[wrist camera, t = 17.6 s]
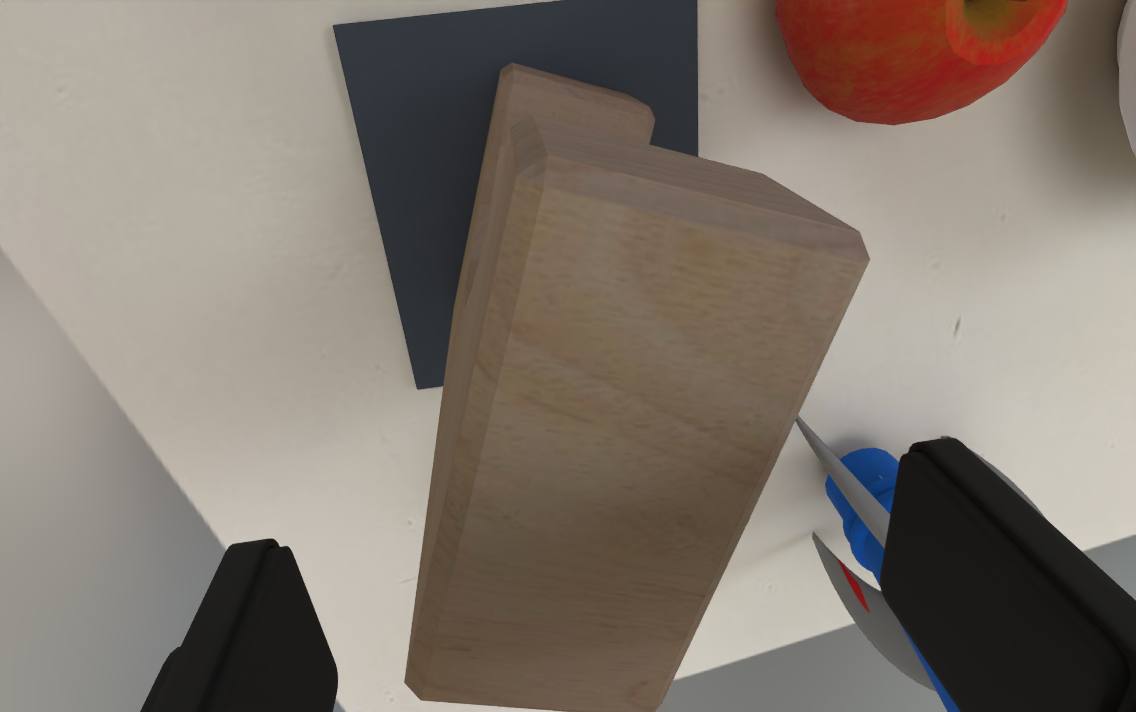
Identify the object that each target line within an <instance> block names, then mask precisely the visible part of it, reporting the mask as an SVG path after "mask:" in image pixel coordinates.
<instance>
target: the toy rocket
mask: <svg viewBox="0 0 1136 712" xmlns="http://www.w3.org/2000/svg"><path fill="white" fill-rule="evenodd" d="M795 421H796V423H797V425H798V426H799V428H800V430H801V431H802V433H803V435H804V436H805V438H806V440H807V441H808V443H809V445H810V446H811V448H812V449H813V451H814V452H815V454H816V456H817V457H818V459H819V460H820V462H821V463H822V465H823V466H824V467H825V469H826V470H827V472H828V476H827V480H826V483H825V486H826V492H827V495H828V497H829V498H830V500H831V502H832V503H833V505H834V506H835V508H836V509H837V511H838V513H839V514H840V516H841V517H842V519H843V529H844V534H845V536H846V538H847V540H848V541H849V543H850V546H851V550H852V553H853V555H854V556H855V558H856V560H857V561H858V562H859V563H860V564H861V565H862V566H863V567H864V568H866V569H867V570H869V571H872V572H873V574H874V576H875V578H876V580H877V582H878V583H879V585H880V573H881V567H882V561H883V555H884V550H885V544H886V538H887V532H888V526H889V520H890V514H891V508H892V502H893V496H894V491H895V485H896V479H897V473H898V467H899V462H898V461H897V460H896V459H895V458H894V457H893V456H892V455H890V454H889V453H888V452H886V451H885V450H881V449H877V448H866V449H860V450H857V451H854V452H851V453H849V454H848V455H846V456H844V457H843V458H841V459H840V460H839V459H838V458H837V457H836V456H835V455H834V454H833V453H832V451H831V450H830V449H829V448H828V447H827V446H826V445H825V444H824V443H823V442H822V440H821V439H820V438H819V437H818V436H817V435H816V434H815V433H814V432H813V431H812V430H811V429H810V428H809V426H808V425H807V424H806V423H805V422H804V421H803V420H802V419H801V418H800V417H799V416H798V415H797V418H796V420H795ZM941 438H942V439H943V438H949V436H943V437H941ZM969 450H970V449H969ZM970 451H971V450H970ZM972 452H973V451H972ZM973 453H974V454H975V455H976V456H977V457H978V458H979V459H980V460H981V461H983V462H984V463H985V464H986V465H987V466H988V467H989V468H990V469H991V470H992V471H994V472H995V473H996V474H997V475H998V476H999V477H1000V478H1001V479H1002V480H1003V481H1005V482H1006V483H1007V484H1008V485H1009V486H1010V487H1011V488H1012V489H1013V490H1014V491H1016V492H1017V493H1018V494H1019V495H1020V496H1021V497H1022V498H1023V499H1024V500H1025V501H1027V502H1028V503H1029V504H1030V505H1031V506H1032V507H1033V508H1034V509H1035V510H1036V511H1038V512H1039V513H1040V514H1041V515H1042V516H1043V514H1042V513H1041V512H1040V511H1039V509H1038V508H1037V507H1036V505H1035V504H1034V503H1033V502H1032V501H1031V500H1030V499H1029V498H1028V497H1027V496H1026V495H1025V494H1024V493H1023V492H1022V491H1021V490H1020V489H1019V488H1018V487H1017V486H1016V485H1015V484H1014V483H1013V482H1012V481H1011V480H1010V479H1009V478H1008V477H1006V476H1005V475H1004V474H1003V473H1002V472H1000V471H999V470H998V469H997V468H995V467H994V466H993V465H992V464H990V463H989V462H987V461H986V460H985V459H983V458H982V457H980V456H979V455H978V454H976V453H975V452H973ZM1043 517H1044V516H1043ZM1044 518H1045V517H1044ZM1045 519H1046V518H1045ZM812 538H813V540H814V543H815V545H816V548H817V550H818V553H819V555H820V558H821V560H822V563H823V565H824V567H825V569H826V571H827V574H828V576H829V578H830V580H831V582H832V584H833V586H834V588H835V589H836V591H837V593H838V595H839V597H840V599H841V600H842V602H843V604H844V605H845V607H846V609H847V611H848V612H849V614H850V615H851V617H852V618H853V620H854V621H855V622H856V624H857V625H858V627H859V628H860V629H861V631H862V632H863V633H864V635H865V636H866V637H867V638H868V640H869V641H870V642H871V643H872V644H873V645H874V646H875V648H876V649H877V650H878V651H879V652H880V653H881V654H882V655H883V656H884V657H885V658H886V659H887V660H888V661H889V662H891V663H892V664H893V665H894V666H896V667H897V668H898V669H899V670H900V671H901V672H903V673H904V674H906V675H907V676H909V677H910V678H912V679H913V680H915V681H916V682H918V683H919V684H922V685H923V686H925V687H927V688H929V689H931V690H934V691H936V692H937V693H938V695H939V697H940V698H941V700H942V702H943V704H944V706H945V708H946V709H947V711H948V712H960V710H959V709H958V707H957V706H956V705H955V703H954V702H953V700H952V699H951V697H950V696H949V694H948V693H947V691H946V690H945V688H944V687H943V685H942V684H941V682H940V681H939V679H938V678H937V677H936V675H935V674H934V672H933V671H932V669H931V668H930V666H929V665H928V663H927V662H926V660H925V659H924V657H923V656H922V654H921V653H920V651H919V650H918V648H917V647H916V646H915V644H914V643H913V641H912V640H911V638H910V637H909V635H908V634H907V632H906V631H905V629H904V628H903V626H902V625H901V623H900V622H899V620H898V619H897V618H896V616H895V615H894V613H893V612H892V610H891V609H890V607H889V606H888V604H887V603H886V601H885V599H884V597H883V594H882V592H881V591H879V590H877V589H875V588H873V587H872V586H870V585H869V584H867V583H866V582H864V581H863V580H862V579H861V578H859V577H858V576H857V575H856V574H854V573H853V572H852V571H851V570H849V569H848V568H847V567H846V566H845V565H844V564H843V563H842V562H841V561H840V560H839V559H838V558H837V557H836V556H835V555H834V554H833V553H832V552H831V551H830V550H829V549H828V548H827V547H826V545H825V544H824V543H823V542H822V541H821V540H820V539H819V538H818V536H817V535H816V534H815V533H814V532H813V536H812Z"/></svg>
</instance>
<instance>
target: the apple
mask: <svg viewBox="0 0 1136 712" xmlns="http://www.w3.org/2000/svg"><path fill="white" fill-rule="evenodd" d="M1067 4H1068V0H777V5H776V16H777V19H778V22H779V26H780V29H781V32H782V35H783V38H784V41H785V44H786V48H787V51H788V54H789V57H790V59H791V61H792V63H793V65H794V67H795V69H796V71H797V73H798V75H799V77H800V79H801V81H802V83H803V85H804V87H805V88H806V89H807V90H808V91H809V92H810V93H811V94H812V95H813V96H814V97H815V98H816V99H817V100H818V101H819V102H820V103H821V104H823V105H824V106H825V107H826V108H827V109H828V110H830V111H833V112H835V113H837V114H840V115H842V116H844V117H847V118H849V119H851V120H854V121H856V122H866V123H877V124H887V125H898V124H904V123H910V122H916V121H921V120H927V119H933V118H937V117H939V116H942V115H945V114H947V113H950V112H953V111H955V110H958V109H961V108H963V107H966V106H968V105H970V104H971V103H973V102H975V101H976V100H978V99H979V98H981V97H983V96H984V95H986V94H987V93H989V92H991V91H992V90H994V89H995V88H997V87H999V86H1000V85H1002V84H1003V83H1005V82H1006V81H1007V80H1008V79H1009V78H1010V77H1011V76H1012V75H1013V74H1014V73H1016V72H1017V71H1018V70H1019V69H1020V68H1021V67H1022V66H1023V65H1024V64H1025V63H1026V62H1027V61H1028V60H1029V59H1030V58H1031V57H1032V56H1033V55H1034V54H1035V53H1036V52H1037V51H1038V50H1039V48H1040V47H1041V46H1042V45H1043V44H1044V43H1045V41H1046V40H1047V38H1048V37H1049V35H1050V34H1051V32H1052V31H1053V29H1054V28H1055V26H1056V25H1057V23H1058V22H1059V20H1060V19H1061V17H1062V16H1063V14H1064V13H1065V11H1066V7H1067Z"/></svg>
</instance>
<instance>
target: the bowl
mask: <svg viewBox="0 0 1136 712" xmlns="http://www.w3.org/2000/svg"><path fill="white" fill-rule="evenodd" d="M1117 62H1118V65H1119V104H1120V110H1121V114H1122V117H1123V121H1124V124H1125V128H1126V131H1127V135H1128V139H1129V142H1130V146H1131V148H1132V150H1133V152H1134V154H1135V156H1136V0H1128V1H1127V3H1126V5H1125V7H1124V10H1123V14H1122V18H1121V22H1120V26H1119V30H1118V34H1117Z"/></svg>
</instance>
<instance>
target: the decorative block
mask: <svg viewBox="0 0 1136 712" xmlns="http://www.w3.org/2000/svg"><path fill="white" fill-rule="evenodd" d="M654 123H655V118H654V116H653V113H652V111H651V109H650V107H649V106H647V105H646V104H644V103H642V102H641V101H639V100H637V99H635V98H634V97H632V96H630V95H628V94H626V93H622V92H618V91H615V90H611V89H607V88H604V87H600V86H596V85H593V84H589V83H585V82H582V81H578V80H574V79H571V78H567V77H563V76H560V75H556V74H552V73H549V72H545V71H541V70H538V69H534V68H530V67H527V66H523V65H519V64H516V63H510V64H509V65H507V66H506V67H504V68H503V69H501V71H500V76H499V81H498V86H497V92H496V97H495V102H494V107H493V112H492V117H491V122H490V127H489V132H488V137H487V142H486V147H485V152H484V157H483V162H482V167H481V172H480V178H479V183H478V188H477V193H476V198H475V203H474V208H473V213H472V218H471V223H470V228H469V233H468V238H467V243H466V248H465V253H464V259H463V264H462V269H461V274H460V279H459V284H458V289H457V294H456V299H455V304H454V310H453V318H452V325H451V333H450V340H449V348H448V355H447V363H446V371H445V378H444V386H443V393H442V401H441V409H440V416H439V424H438V431H437V439H436V447H435V454H434V462H433V469H432V477H431V484H430V492H429V499H428V507H427V515H426V522H425V530H424V537H423V545H422V553H421V560H420V568H419V575H418V583H417V591H416V598H415V606H414V613H413V621H412V629H411V636H410V644H409V651H408V659H407V667H406V674H405V682H404V683H405V684H406V685H407V686H408V687H409V688H410V689H411V690H412V691H413V693H414V694H415V695H416V696H417V697H418V698H419V699H420V700H422V701H435V702H448V703H462V704H475V705H488V706H501V707H514V708H527V709H540V710H553V711H567V712H655V711H656V710H657V708H658V707H659V706H660V705H661V704H662V702H663V699H664V698H665V695H666V693H667V691H668V689H669V687H670V685H671V683H672V681H673V679H674V676H675V674H676V672H677V670H678V668H679V666H680V664H681V662H682V660H683V658H684V655H685V653H686V651H687V649H688V647H689V645H690V643H691V641H692V639H693V636H694V634H695V632H696V630H697V628H698V626H699V624H700V622H701V620H702V617H703V615H704V613H705V611H706V609H707V607H708V605H709V603H710V601H711V598H712V596H713V594H714V592H715V590H716V588H717V586H718V584H719V582H720V580H721V577H722V575H723V573H724V571H725V569H726V567H727V565H728V563H729V561H730V558H731V556H732V554H733V552H734V550H735V548H736V546H737V544H738V542H739V539H740V537H741V535H742V533H743V531H744V529H745V527H746V525H747V523H748V521H749V518H750V516H751V514H752V512H753V510H754V508H755V506H756V503H757V501H758V499H759V497H760V495H761V493H762V491H763V488H764V486H765V484H766V482H767V480H768V478H769V476H770V473H771V471H772V469H773V467H774V465H775V463H776V460H777V458H778V456H779V454H780V452H781V450H782V448H783V445H784V443H785V441H786V439H787V437H788V435H789V433H790V430H791V428H792V426H793V424H794V422H795V420H796V418H797V415H798V413H799V411H800V409H801V407H802V405H803V402H804V400H805V398H806V396H807V394H808V392H809V390H810V387H811V385H812V383H813V381H814V379H815V377H816V375H817V372H818V370H819V368H820V366H821V364H822V362H823V360H824V357H825V355H826V353H827V351H828V349H829V347H830V344H831V342H832V340H833V338H834V336H835V334H836V332H837V329H838V327H839V325H840V323H841V321H842V319H843V317H844V314H845V312H846V310H847V308H848V306H849V304H850V301H851V299H852V297H853V295H854V293H855V291H856V289H857V286H858V284H859V282H860V280H861V278H862V276H863V274H864V271H865V269H866V267H867V265H868V263H869V261H870V258H869V255H868V253H867V250H866V247H865V245H864V242H863V240H862V237H861V234H860V232H859V231H857V230H856V229H854V228H852V227H851V226H849V225H847V224H846V223H844V222H842V221H841V220H839V219H837V218H836V217H834V216H832V215H831V214H829V213H827V212H826V211H824V210H822V209H821V208H819V207H817V206H816V205H814V204H812V203H811V202H809V201H807V200H806V199H804V198H802V197H801V196H799V195H797V194H796V193H794V192H792V191H791V190H789V189H787V188H786V187H784V186H782V185H781V184H779V183H777V182H776V181H774V180H772V179H771V178H769V177H767V176H766V175H764V174H761V173H758V172H754V171H750V170H746V169H742V168H738V167H734V166H730V165H726V164H723V163H719V162H715V161H711V160H707V159H703V158H699V157H695V156H692V155H688V154H684V153H680V152H676V151H672V150H668V149H664V148H661V147H657V146H653V145H649V143H650V139H651V135H652V131H653V127H654Z"/></svg>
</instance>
